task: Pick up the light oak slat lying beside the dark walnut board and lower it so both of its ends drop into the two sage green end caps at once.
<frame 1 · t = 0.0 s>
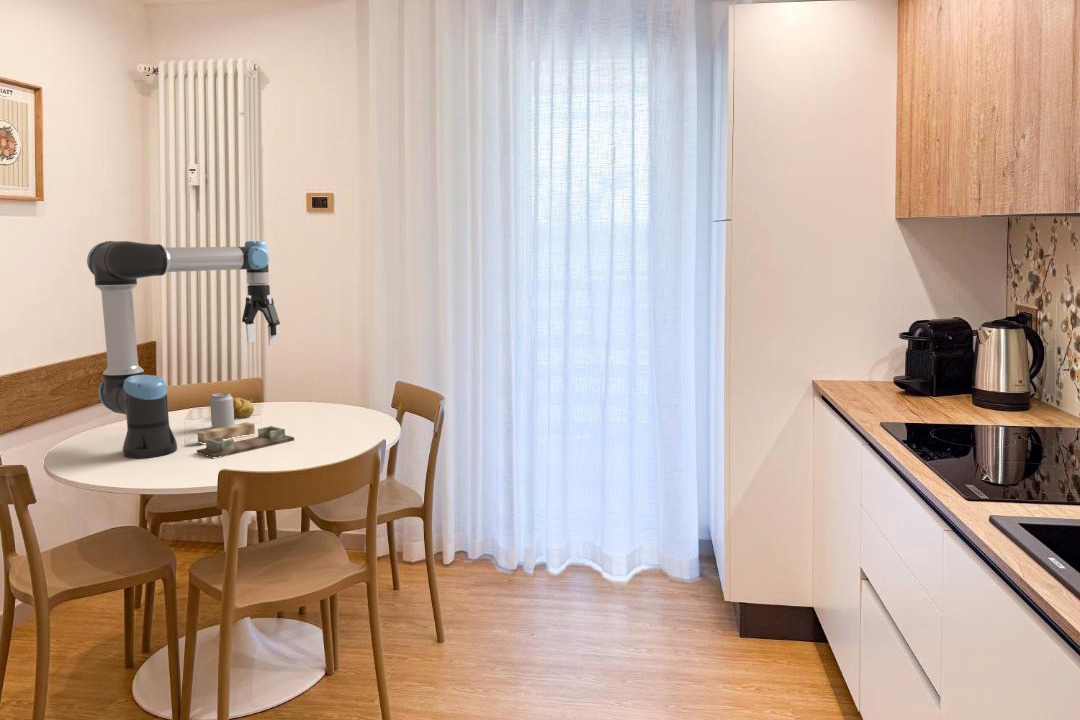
hand: (261, 343, 293), 28 cm above the table, tool pointing down, fingers open, 13 cm apart
cradle: (247, 446, 257), on the table
slat: (227, 439, 268), on the table
can: (223, 428, 284), on the table
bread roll: (239, 416, 303), on the table
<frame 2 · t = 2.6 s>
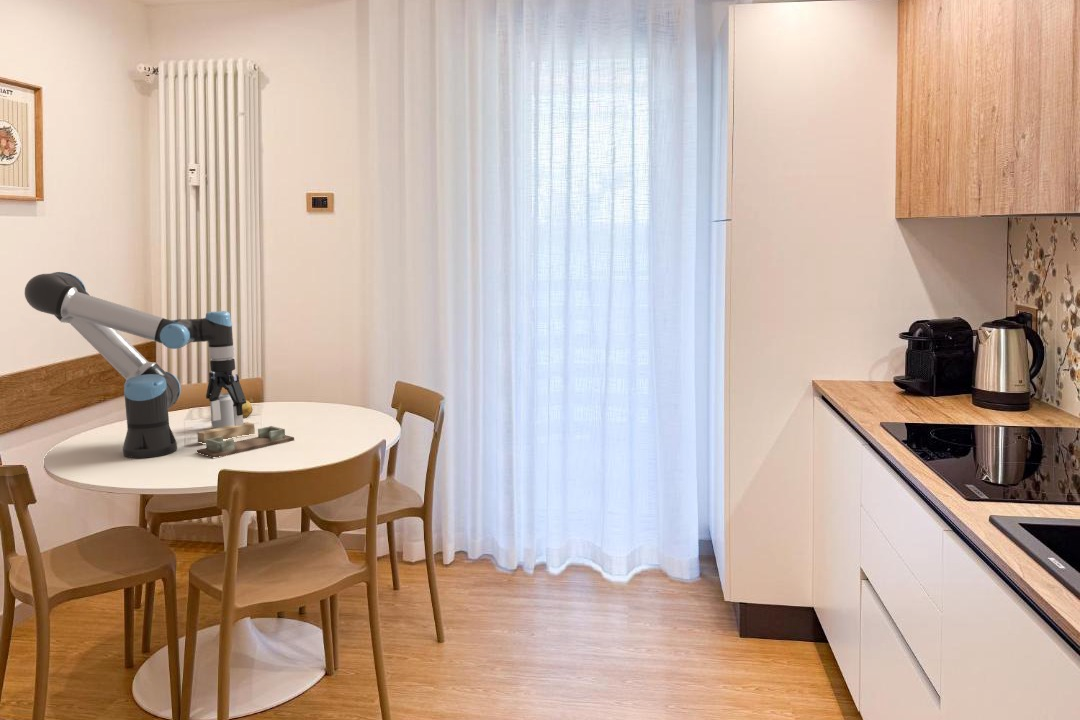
hand: (227, 422, 267), 5 cm above the table, tool pointing down, fingers open, 13 cm apart
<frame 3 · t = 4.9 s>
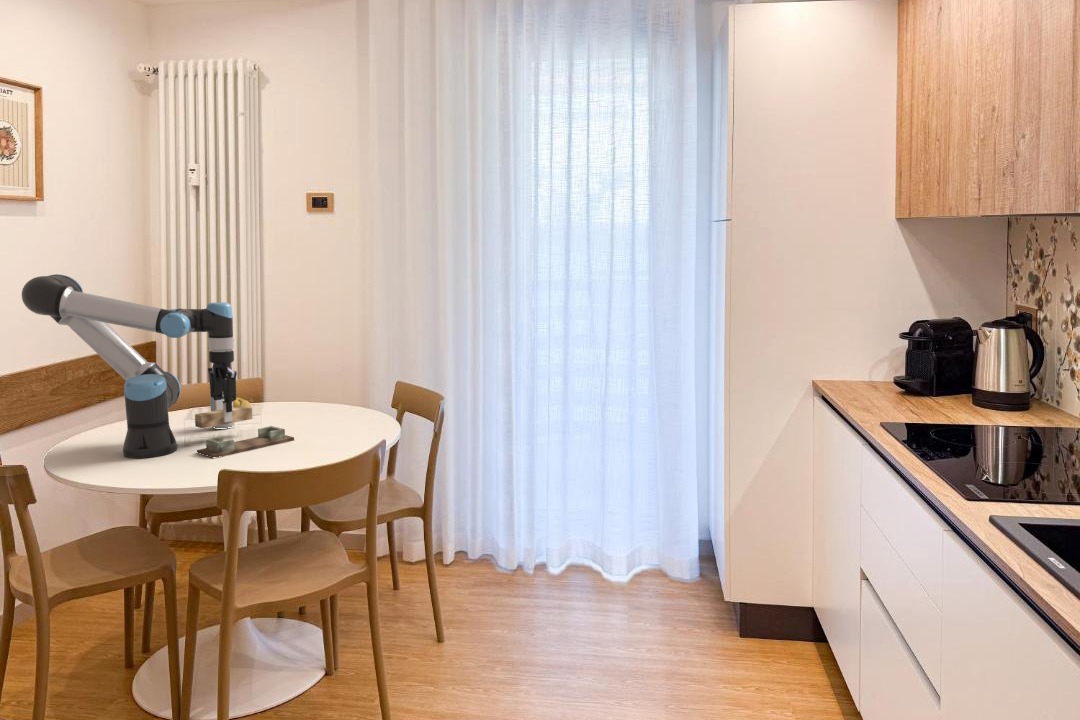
hand: (224, 420, 267), 6 cm above the table, tool pointing down, fingers closed on slat, 4 cm apart
slat: (224, 422, 267), point 5 cm above the table, touching gripper
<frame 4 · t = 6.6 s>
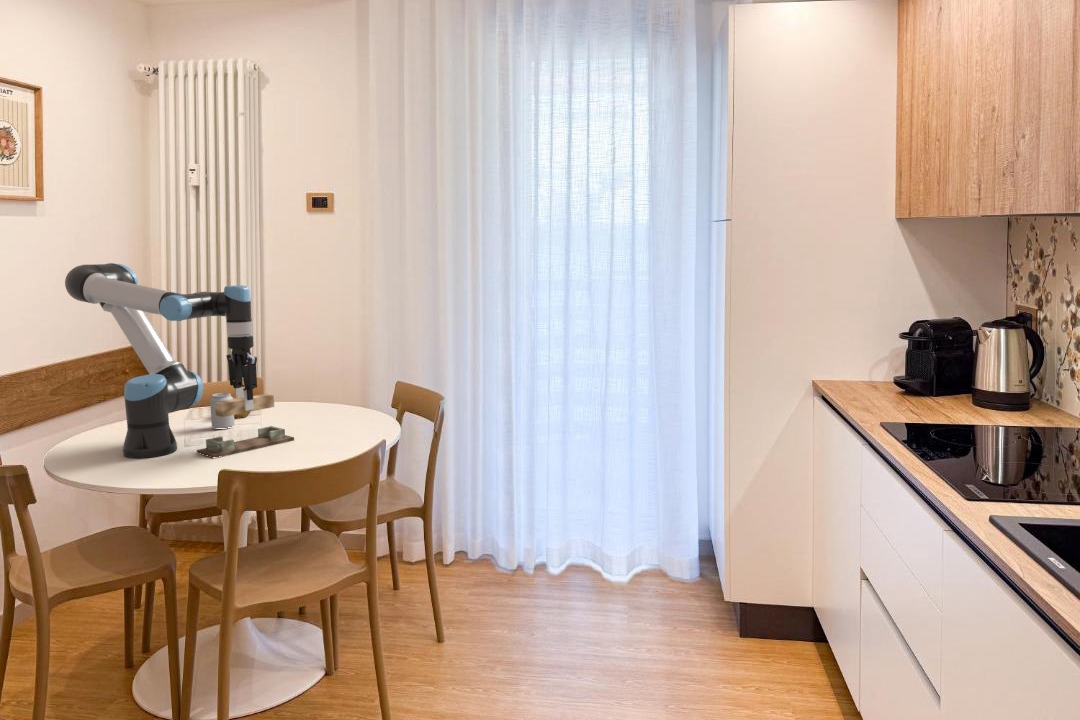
hand: (245, 408, 255), 12 cm above the table, tool pointing down, fingers closed on slat, 4 cm apart
slat: (245, 411, 255), point 11 cm above the table, touching gripper
when the fingers open (2 cm above the table, at t = 8.2 s): slat stays where it is, resting on cradle.
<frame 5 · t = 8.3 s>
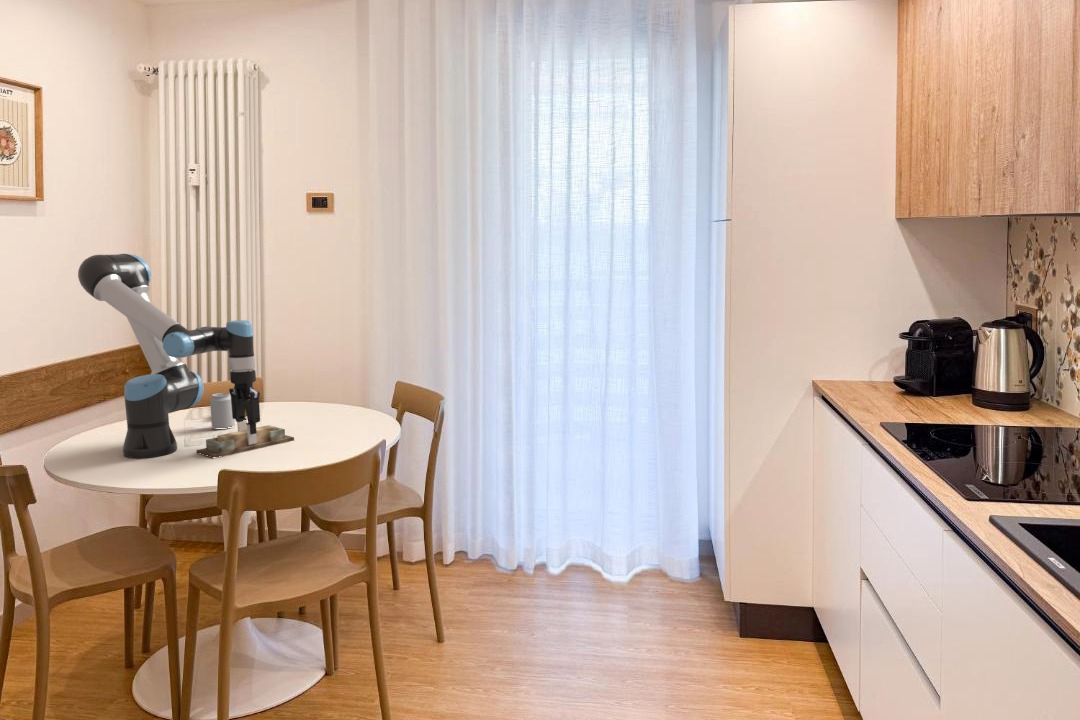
hand: (248, 442, 257), 1 cm above the table, tool pointing down, fingers open, 4 cm apart
slat: (248, 443, 257), point 1 cm above the table, touching cradle, gripper
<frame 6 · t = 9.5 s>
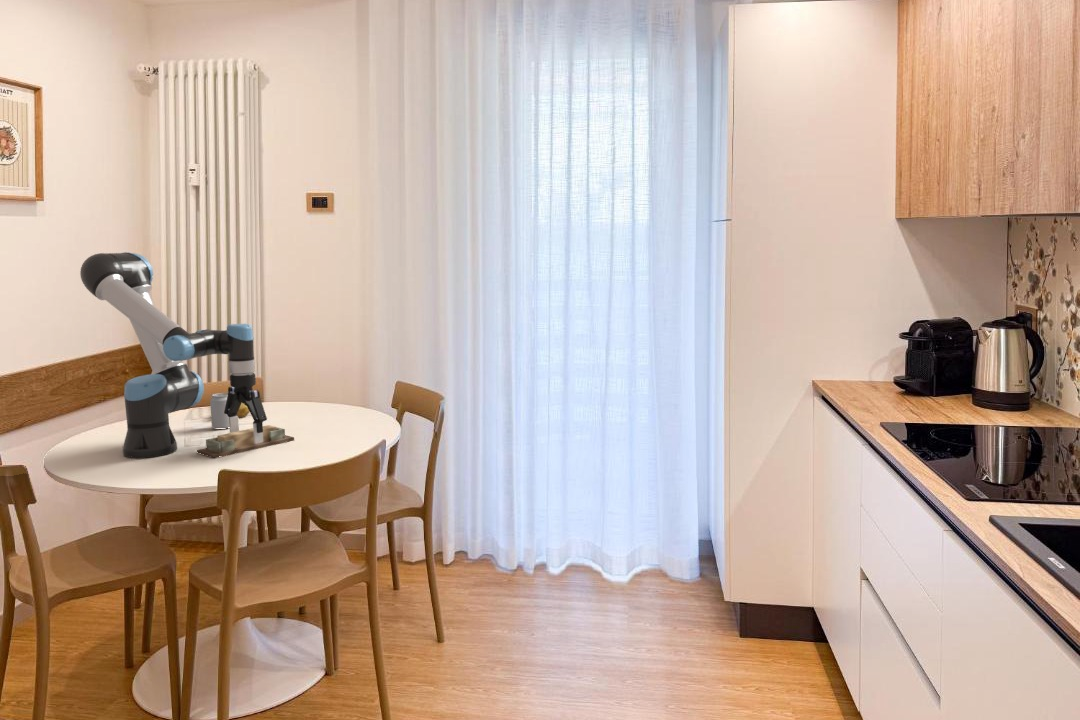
hand: (246, 439, 257), 2 cm above the table, tool pointing down, fingers open, 13 cm apart
slat: (248, 443, 257), point 1 cm above the table, touching cradle
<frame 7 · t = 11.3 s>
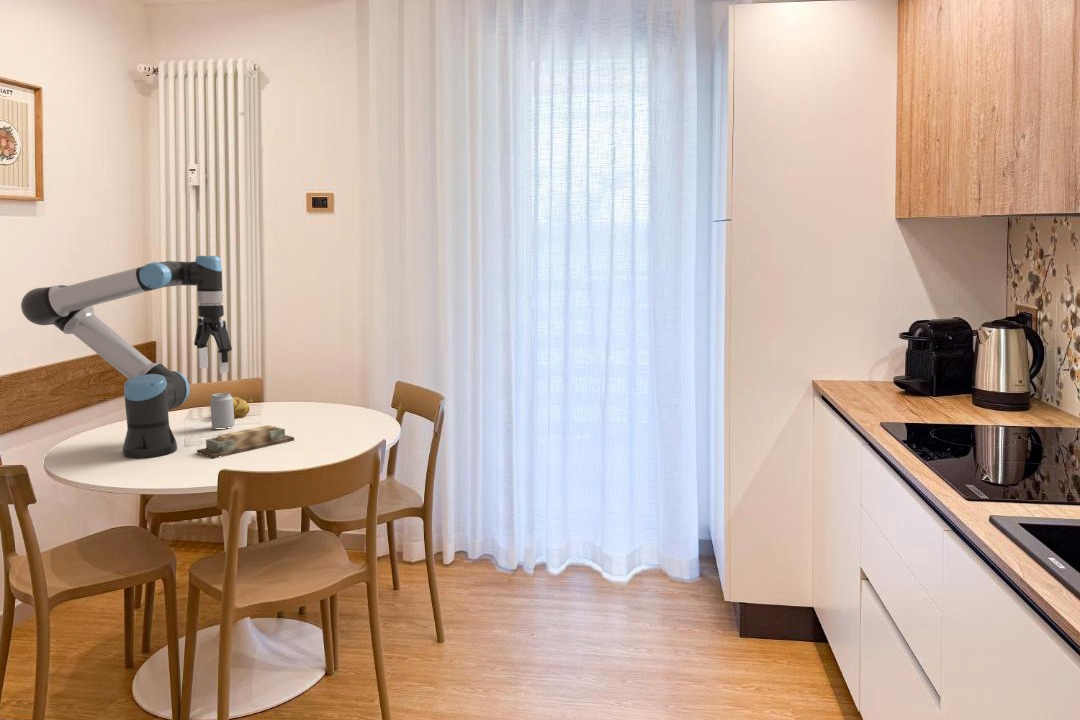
hand: (213, 370, 261), 23 cm above the table, tool pointing down, fingers open, 13 cm apart
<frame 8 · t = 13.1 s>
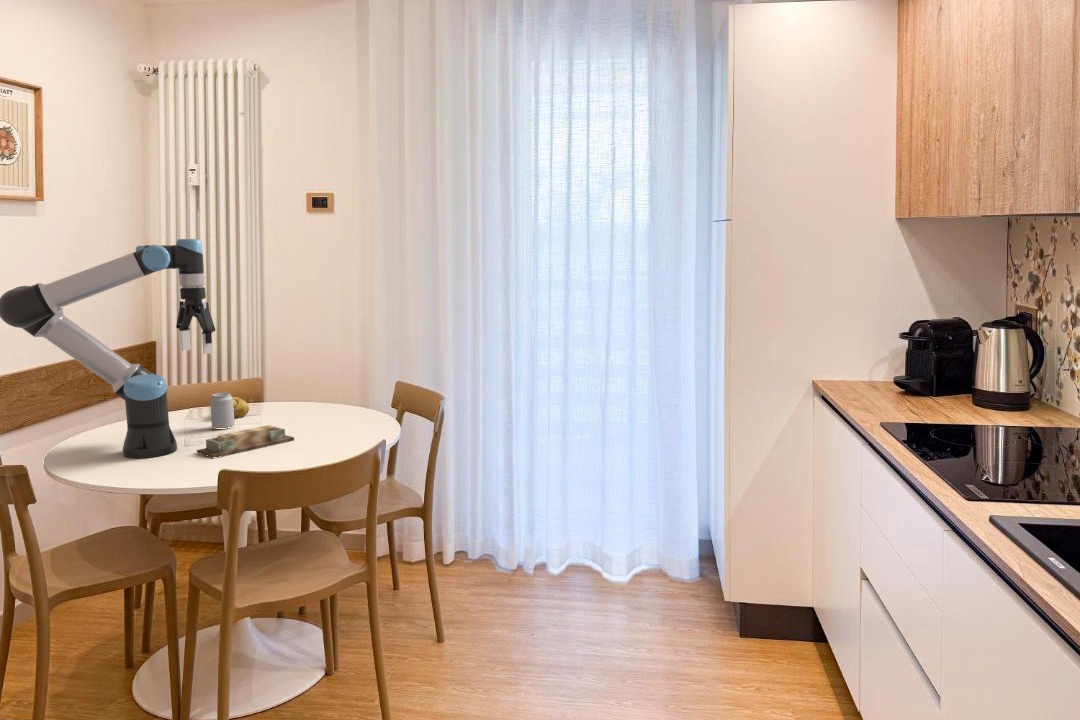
hand: (197, 352, 265), 29 cm above the table, tool pointing down, fingers open, 13 cm apart
at the end: slat 0.4 cm off-centre on the cradle, point 1.0 cm above the cradle's base; slat tilted 0°; the gripper is holding nothing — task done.
